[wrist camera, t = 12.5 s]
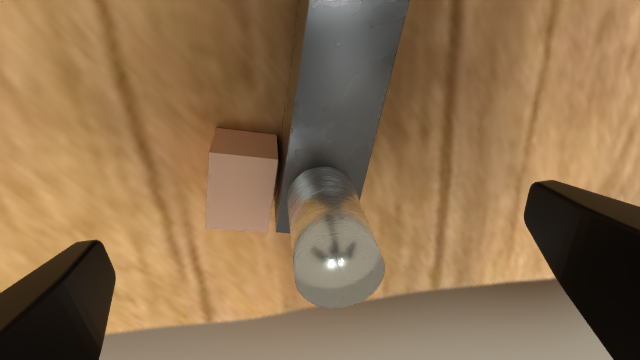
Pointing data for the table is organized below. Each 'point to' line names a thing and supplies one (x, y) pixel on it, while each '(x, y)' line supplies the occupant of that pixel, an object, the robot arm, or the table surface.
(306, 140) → the stool leg
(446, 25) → the table surface
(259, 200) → the block
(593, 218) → the robot arm
